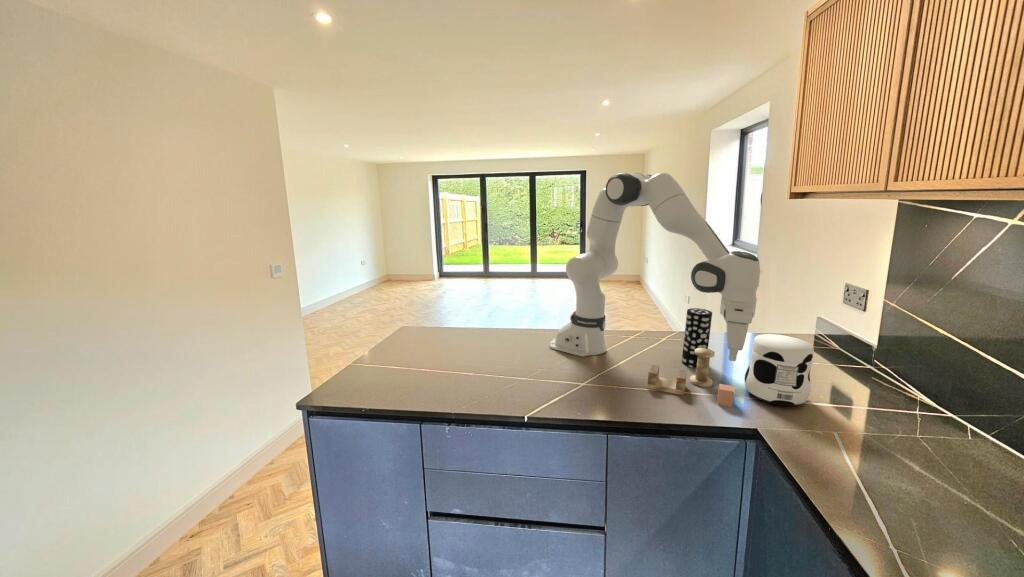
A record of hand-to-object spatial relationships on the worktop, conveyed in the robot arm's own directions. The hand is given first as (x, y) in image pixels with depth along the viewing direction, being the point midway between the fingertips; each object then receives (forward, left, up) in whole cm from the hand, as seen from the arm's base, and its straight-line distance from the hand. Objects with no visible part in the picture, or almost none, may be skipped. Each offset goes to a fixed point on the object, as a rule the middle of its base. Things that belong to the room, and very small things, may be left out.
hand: (731, 354), depth 125 cm
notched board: (-17, +3, -16) cm, 23 cm away
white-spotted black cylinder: (-10, +28, -16) cm, 34 cm away
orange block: (0, 0, -16) cm, 16 cm away
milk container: (+14, +11, -16) cm, 24 cm away
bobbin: (-7, +12, -16) cm, 21 cm away
